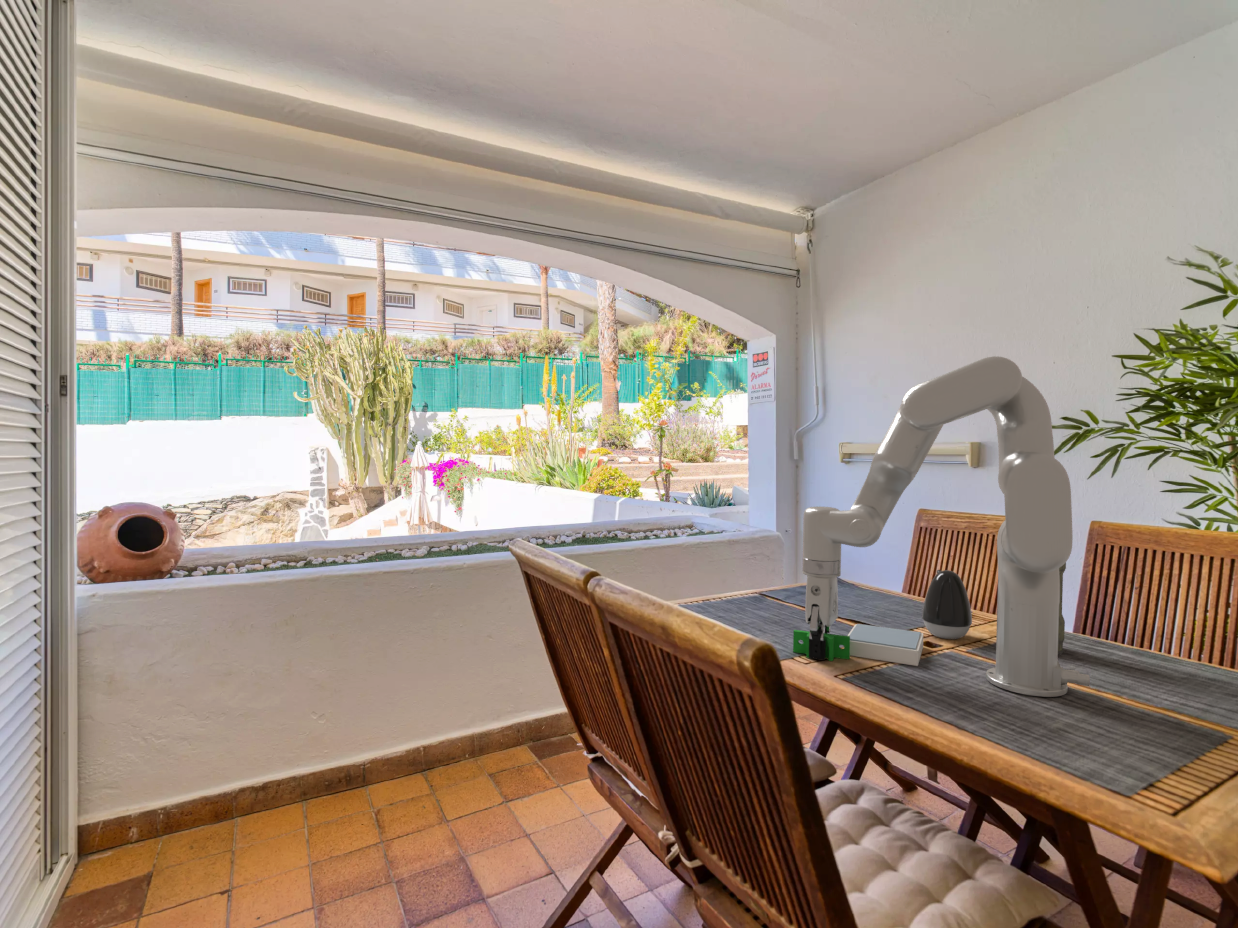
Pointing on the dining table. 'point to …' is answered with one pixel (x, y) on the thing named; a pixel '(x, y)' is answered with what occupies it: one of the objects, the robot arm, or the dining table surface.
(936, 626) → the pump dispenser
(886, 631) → the stand
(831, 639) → the pipe clamp
